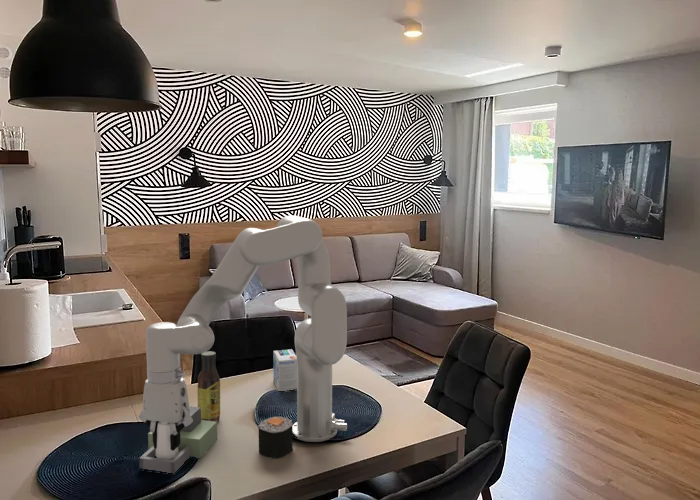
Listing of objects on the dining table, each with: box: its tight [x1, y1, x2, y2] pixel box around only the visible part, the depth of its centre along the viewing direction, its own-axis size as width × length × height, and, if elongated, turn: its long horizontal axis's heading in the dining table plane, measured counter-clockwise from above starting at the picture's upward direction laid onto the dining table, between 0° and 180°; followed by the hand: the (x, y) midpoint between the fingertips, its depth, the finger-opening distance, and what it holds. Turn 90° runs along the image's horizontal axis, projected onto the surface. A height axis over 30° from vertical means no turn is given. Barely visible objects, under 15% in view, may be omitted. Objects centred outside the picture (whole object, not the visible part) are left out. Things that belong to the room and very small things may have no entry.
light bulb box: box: [272, 348, 297, 392], centre depth 183 cm, size 11×7×11 cm, turn 17°
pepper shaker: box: [155, 422, 179, 460], centre depth 133 cm, size 5×5×11 cm
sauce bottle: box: [197, 350, 221, 423], centre depth 156 cm, size 7×6×20 cm
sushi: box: [257, 415, 294, 459], centre depth 140 cm, size 8×8×8 cm
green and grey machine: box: [138, 405, 218, 475], centre depth 138 cm, size 14×18×10 cm
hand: (166, 446), depth 134 cm, fingers closed on pepper shaker, 3 cm apart
